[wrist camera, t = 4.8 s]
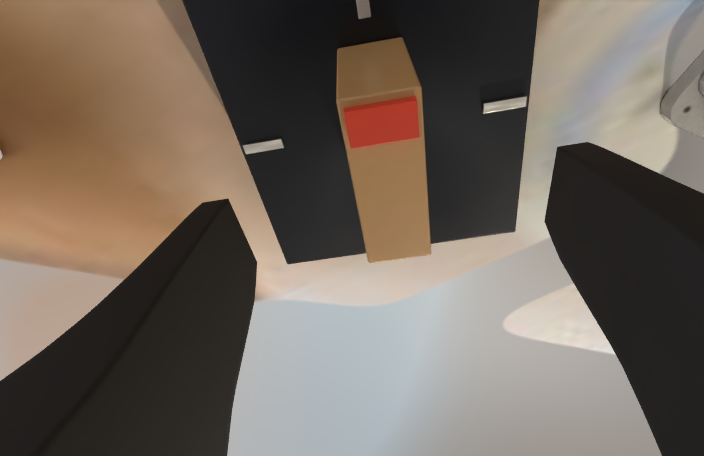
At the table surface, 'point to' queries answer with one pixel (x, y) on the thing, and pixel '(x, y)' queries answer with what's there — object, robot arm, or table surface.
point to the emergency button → (687, 99)
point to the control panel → (323, 118)
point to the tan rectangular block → (385, 147)
